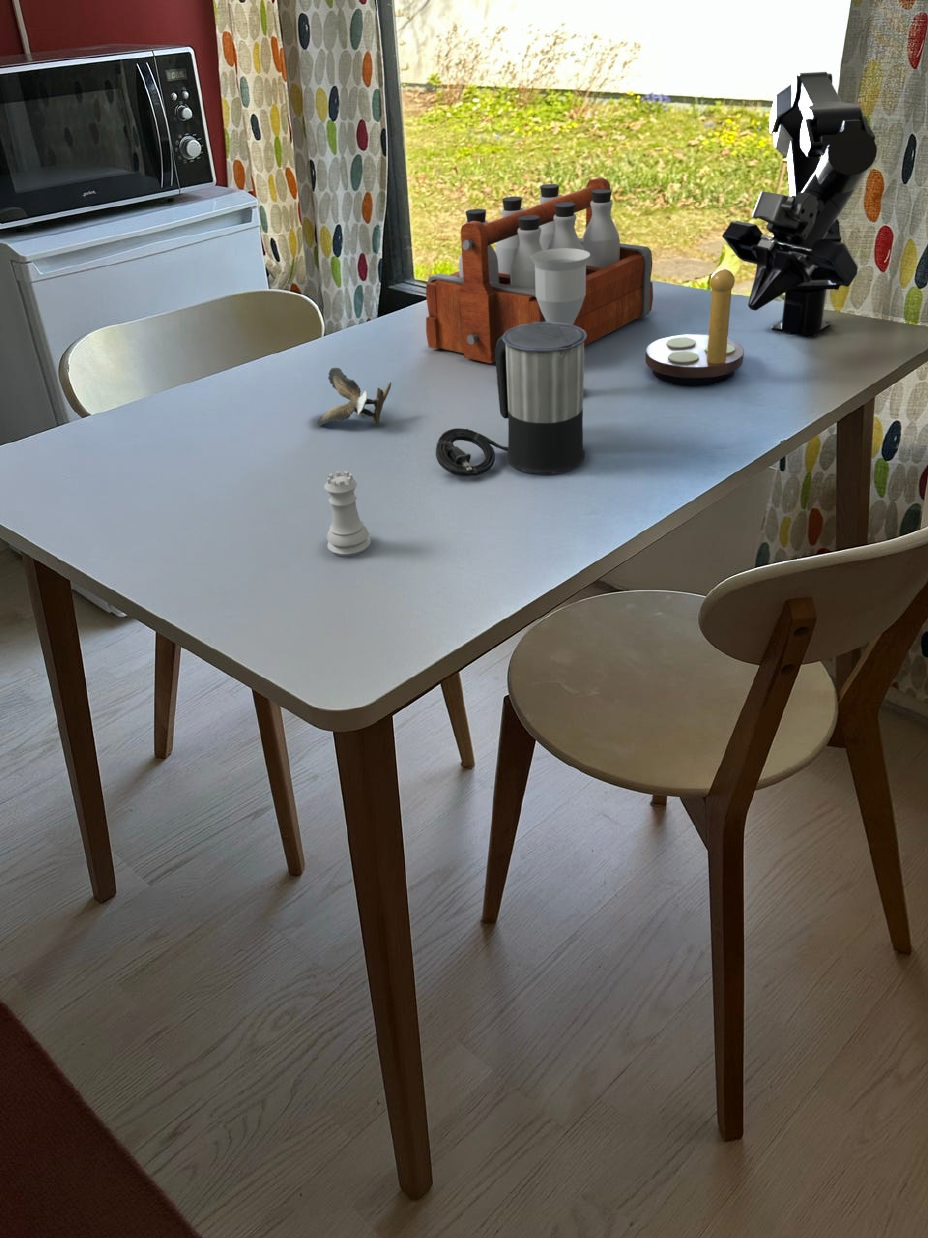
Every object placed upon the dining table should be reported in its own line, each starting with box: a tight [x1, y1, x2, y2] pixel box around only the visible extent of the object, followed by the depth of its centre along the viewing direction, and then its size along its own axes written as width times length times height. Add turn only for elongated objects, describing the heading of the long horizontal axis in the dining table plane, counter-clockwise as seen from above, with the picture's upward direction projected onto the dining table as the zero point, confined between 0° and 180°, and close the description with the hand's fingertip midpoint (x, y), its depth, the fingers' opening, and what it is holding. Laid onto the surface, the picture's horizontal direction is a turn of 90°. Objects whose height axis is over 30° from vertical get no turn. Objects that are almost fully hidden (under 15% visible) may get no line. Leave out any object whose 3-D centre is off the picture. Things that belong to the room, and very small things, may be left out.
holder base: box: [651, 369, 735, 387], centre depth 141 cm, size 11×11×1 cm
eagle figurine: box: [316, 367, 392, 427], centre depth 132 cm, size 8×7×9 cm
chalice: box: [531, 248, 590, 325], centre depth 132 cm, size 7×7×18 cm
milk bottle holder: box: [425, 177, 654, 364], centre depth 153 cm, size 21×35×19 cm, turn 141°
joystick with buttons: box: [644, 268, 745, 378], centre depth 137 cm, size 13×13×13 cm
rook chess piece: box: [324, 470, 372, 558], centre depth 104 cm, size 4×4×8 cm
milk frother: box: [435, 322, 587, 477], centre depth 116 cm, size 14×16×15 cm
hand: (751, 308), depth 135 cm, fingers closed
